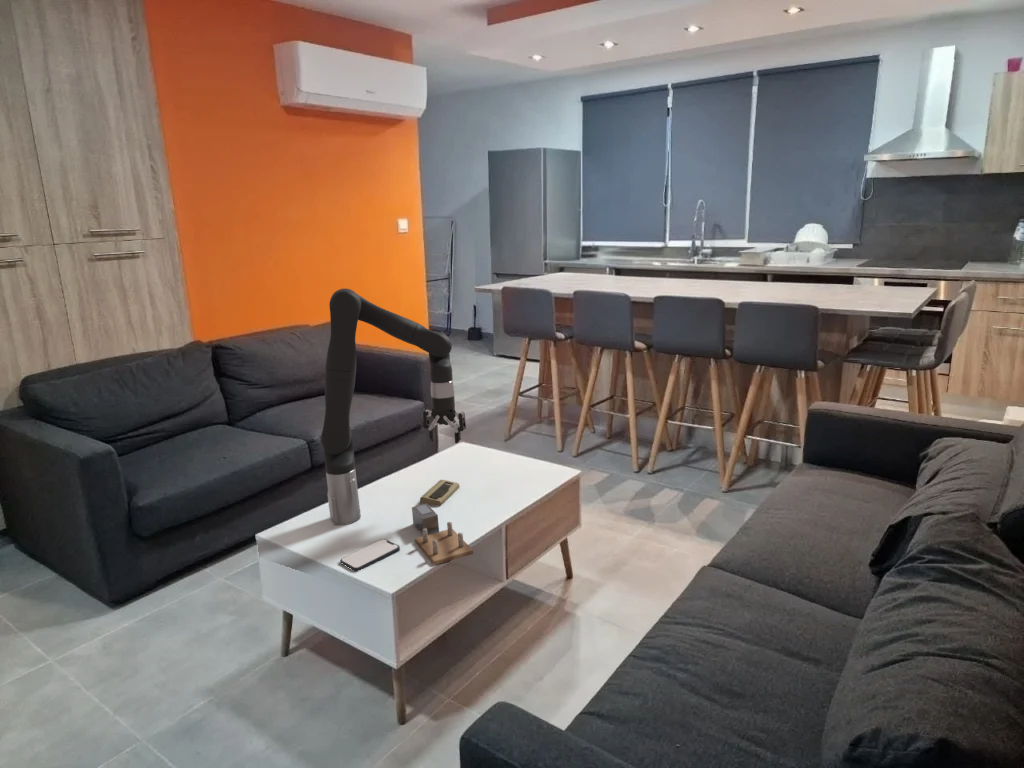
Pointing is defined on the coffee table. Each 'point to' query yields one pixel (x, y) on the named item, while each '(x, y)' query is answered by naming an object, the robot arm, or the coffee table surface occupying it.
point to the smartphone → (370, 554)
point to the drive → (425, 519)
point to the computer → (439, 493)
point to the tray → (443, 545)
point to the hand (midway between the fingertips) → (445, 441)
